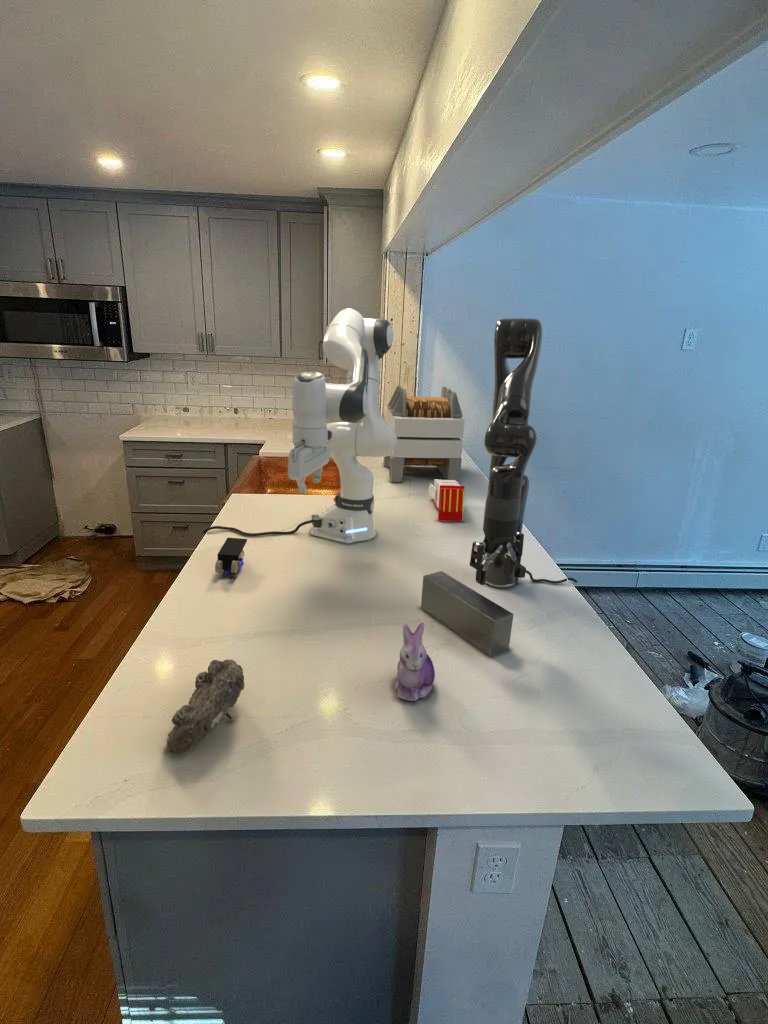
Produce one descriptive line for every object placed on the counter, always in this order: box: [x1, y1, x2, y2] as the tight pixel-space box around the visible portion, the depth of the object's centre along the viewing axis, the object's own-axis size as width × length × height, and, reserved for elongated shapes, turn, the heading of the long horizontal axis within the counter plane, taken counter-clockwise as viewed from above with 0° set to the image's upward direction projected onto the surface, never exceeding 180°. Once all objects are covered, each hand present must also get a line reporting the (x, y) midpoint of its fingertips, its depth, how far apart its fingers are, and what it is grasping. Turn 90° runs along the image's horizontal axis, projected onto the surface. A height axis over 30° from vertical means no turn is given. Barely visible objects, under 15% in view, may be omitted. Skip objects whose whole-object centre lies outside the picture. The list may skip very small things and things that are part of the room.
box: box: [420, 570, 514, 658], centre depth 141 cm, size 26×6×10 cm, turn 35°
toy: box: [428, 479, 465, 522], centre depth 225 cm, size 12×13×30 cm
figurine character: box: [214, 537, 248, 578], centre depth 166 cm, size 7×8×15 cm
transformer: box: [383, 384, 465, 484], centre depth 268 cm, size 34×33×41 cm
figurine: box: [394, 622, 436, 702], centre depth 116 cm, size 9×10×15 cm
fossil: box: [166, 658, 245, 754], centre depth 106 cm, size 22×10×15 cm
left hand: (309, 487), depth 152 cm, fingers open, 8 cm apart
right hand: (494, 579), depth 130 cm, fingers open, 8 cm apart
